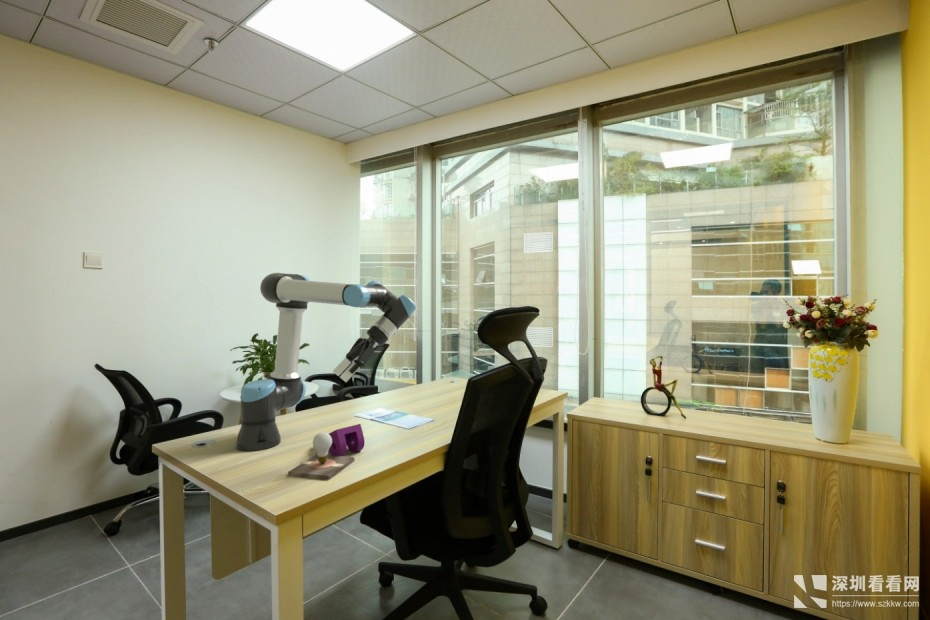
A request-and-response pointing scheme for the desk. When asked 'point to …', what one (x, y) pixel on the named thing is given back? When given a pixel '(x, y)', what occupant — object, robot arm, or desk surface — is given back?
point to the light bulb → (322, 446)
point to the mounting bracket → (346, 440)
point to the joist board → (321, 467)
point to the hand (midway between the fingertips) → (338, 376)
